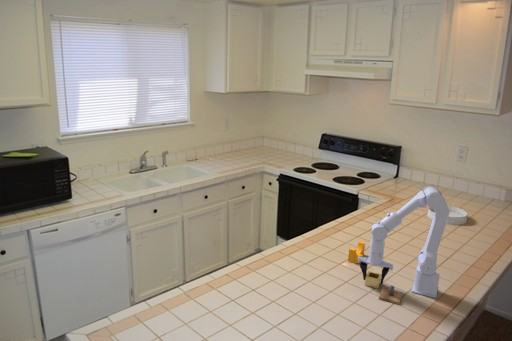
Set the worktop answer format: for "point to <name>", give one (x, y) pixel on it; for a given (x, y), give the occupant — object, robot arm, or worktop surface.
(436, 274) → the robot arm
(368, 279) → the collar
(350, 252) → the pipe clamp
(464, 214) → the dish
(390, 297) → the shaft block
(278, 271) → the worktop surface
